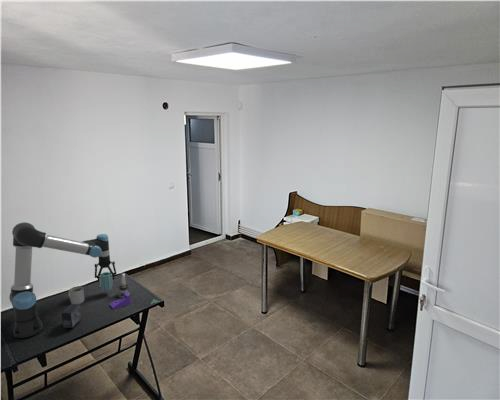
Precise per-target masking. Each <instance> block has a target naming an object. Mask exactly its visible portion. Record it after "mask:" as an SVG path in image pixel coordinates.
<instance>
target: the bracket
mask: <svg viewBox="0 0 500 400" xmlns="http://www.w3.org/2000/svg"><path fill="white" fill-rule="evenodd" d="M130 295H131V294H130ZM130 295H129V294H128V293H124V298H120V299H118V300H113V301H112V302H110V303H109V306H110V308H111V309H112V310H116V309H118V308H121V307H125V306H129V305H131V296H130Z"/></svg>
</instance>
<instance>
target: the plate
mask: <svg viewBox="0 0 500 400" xmlns="http://www.w3.org/2000/svg"><path fill="white" fill-rule="evenodd" d="M127 293H128V294H129V295H131V293H130V292H129V291H127ZM118 297H119V298H120V299H124V296H121V292H120V293H119V294H118Z"/></svg>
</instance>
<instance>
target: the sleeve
mask: <svg viewBox="0 0 500 400" xmlns="http://www.w3.org/2000/svg"><path fill="white" fill-rule="evenodd" d="M111 275H112V274H111V272H110V271H105V272H101V274H100V279H101V287H100V289H101V291H109V290H111V289H113V285H112V279H111Z"/></svg>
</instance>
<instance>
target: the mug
mask: <svg viewBox="0 0 500 400" xmlns="http://www.w3.org/2000/svg"><path fill="white" fill-rule="evenodd" d="M84 288H85V287H84V286H82V285H81V286H80V285H77V286H72V287H71V288H69V290H68V292H67V296H68V298H69V300H70V305H71V304H76V305H80V304H82V303H84V301H85V300H86V299H85V290H84Z"/></svg>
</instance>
